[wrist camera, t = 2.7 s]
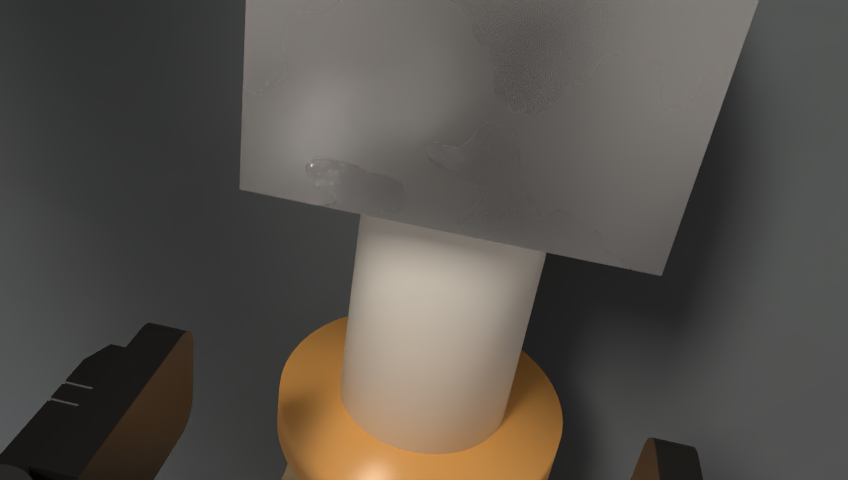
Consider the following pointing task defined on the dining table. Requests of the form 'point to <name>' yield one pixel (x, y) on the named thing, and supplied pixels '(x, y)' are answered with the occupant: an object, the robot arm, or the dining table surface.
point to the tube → (423, 367)
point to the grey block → (492, 114)
